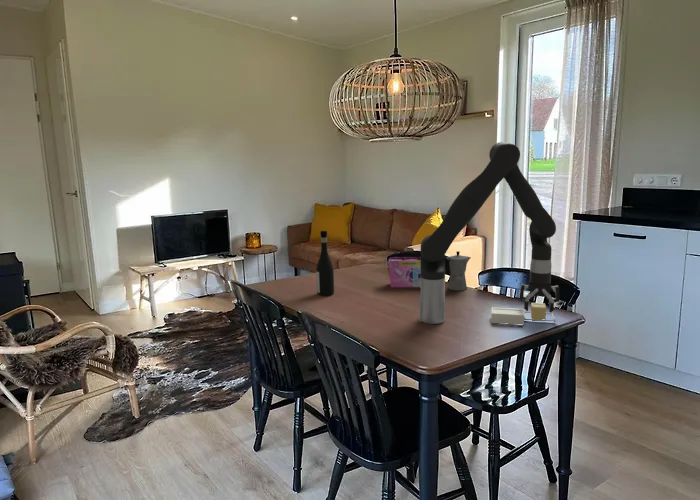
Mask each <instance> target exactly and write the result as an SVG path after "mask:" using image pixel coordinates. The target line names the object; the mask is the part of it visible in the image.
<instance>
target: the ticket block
mask: <svg viewBox="0 0 700 500" xmlns="http://www.w3.org/2000/svg"><path fill="white" fill-rule="evenodd" d="M523 311H524V309H523V308H514V307H513V308H511V307H495V306H491V318H490V319H491V320H490V322H491V326H494V325H497V326H498V324H492V323H508V324H523V325H524V314H523Z"/></svg>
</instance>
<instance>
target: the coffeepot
mask: <svg viewBox="0 0 700 500" xmlns="http://www.w3.org/2000/svg"><path fill="white" fill-rule="evenodd" d="M455 253H456V254H455V255H449V256H445V262H448V263H449V272H450V274H449V272H448V271H447V268H446V267H445V275H449V280H448V284H447V285H448V286H447V288H448V290H450V291H465V290H468V289H467V288H468V287H467V279H466V270H467V266H468V265H467V264H468V262H469V261H470V259H471V258H472V257H470V256H466V255H460V253H461V252H460V251H458V250H457V251H456V252H455Z"/></svg>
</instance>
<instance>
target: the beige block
mask: <svg viewBox="0 0 700 500" xmlns="http://www.w3.org/2000/svg"><path fill="white" fill-rule="evenodd" d="M530 311H531V318H532V319H545V320H546V312H547V305H546V303H545V302H543V303H542V302H531V304H530Z"/></svg>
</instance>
